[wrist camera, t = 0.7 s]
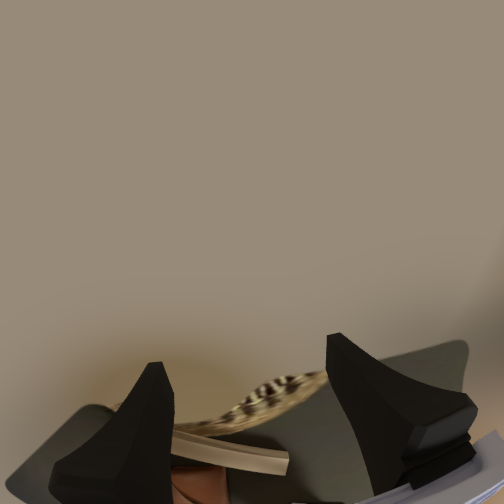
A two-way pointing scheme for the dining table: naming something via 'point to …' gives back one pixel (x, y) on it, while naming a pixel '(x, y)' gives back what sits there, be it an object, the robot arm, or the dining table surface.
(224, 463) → the bar
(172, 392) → the robot arm
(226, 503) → the sunglasses case
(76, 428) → the dining table surface
